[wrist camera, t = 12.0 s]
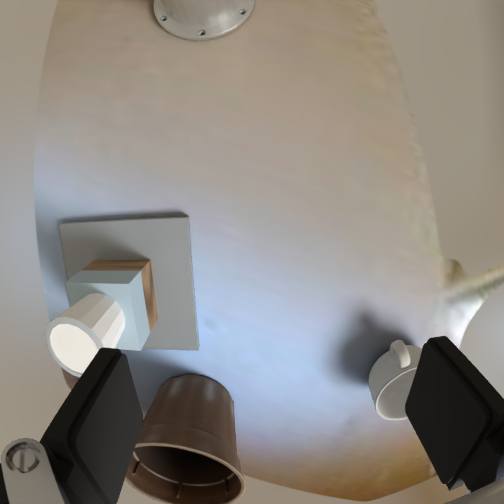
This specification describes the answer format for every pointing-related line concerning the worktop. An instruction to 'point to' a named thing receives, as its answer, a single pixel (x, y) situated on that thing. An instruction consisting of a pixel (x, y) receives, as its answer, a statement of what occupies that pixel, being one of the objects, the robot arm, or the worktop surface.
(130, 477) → the plant pot
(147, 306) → the brick
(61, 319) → the white rounded piece
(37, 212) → the worktop surface
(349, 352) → the worktop surface
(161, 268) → the plate
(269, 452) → the worktop surface
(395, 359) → the teacup
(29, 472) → the robot arm
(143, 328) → the brick
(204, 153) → the worktop surface
